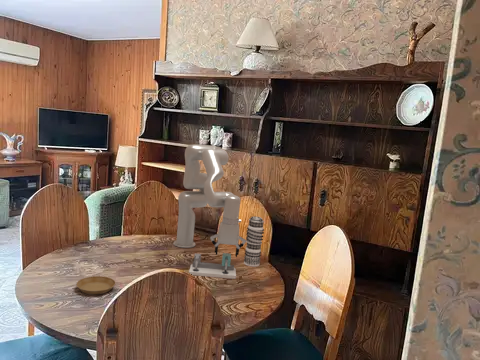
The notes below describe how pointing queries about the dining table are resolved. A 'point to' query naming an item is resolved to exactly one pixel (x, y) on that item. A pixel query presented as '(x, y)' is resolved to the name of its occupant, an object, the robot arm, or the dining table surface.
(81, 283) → the plant saucer
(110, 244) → the dining table surface
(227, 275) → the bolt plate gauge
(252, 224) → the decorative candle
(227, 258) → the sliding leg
